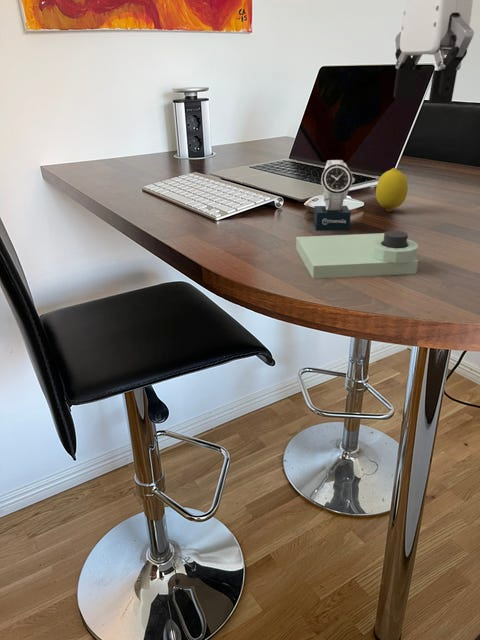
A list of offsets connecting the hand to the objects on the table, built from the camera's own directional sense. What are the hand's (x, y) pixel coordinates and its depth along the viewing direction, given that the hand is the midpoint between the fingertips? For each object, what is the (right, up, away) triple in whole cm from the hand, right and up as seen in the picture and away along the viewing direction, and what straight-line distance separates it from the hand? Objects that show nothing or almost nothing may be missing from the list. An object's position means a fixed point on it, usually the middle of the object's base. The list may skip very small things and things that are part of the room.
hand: (420, 100), depth 72 cm
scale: (-10, -23, -1) cm, 26 cm away
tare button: (-6, -22, -6) cm, 23 cm away
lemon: (+2, -12, +21) cm, 24 cm away
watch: (-11, -16, +13) cm, 23 cm away
